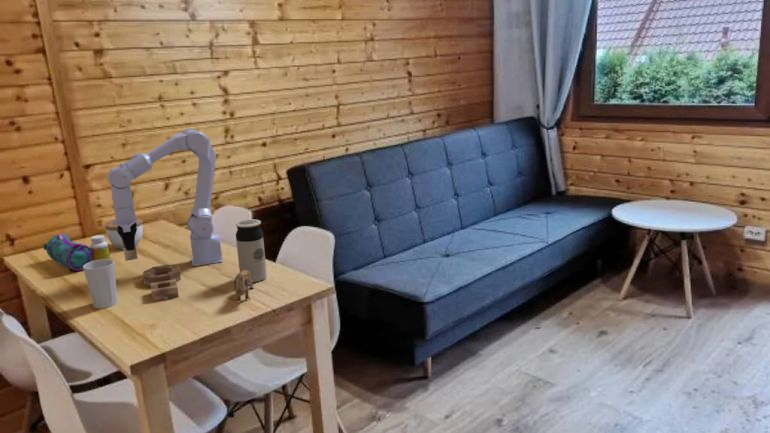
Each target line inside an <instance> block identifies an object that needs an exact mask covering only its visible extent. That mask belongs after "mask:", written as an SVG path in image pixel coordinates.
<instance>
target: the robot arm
mask: <svg viewBox="0 0 770 433" xmlns="http://www.w3.org/2000/svg"><path fill="white" fill-rule="evenodd" d="M187 150H189V151H191V152H192V153H193V154H194V155H195V157H196V158H197V159H198V168H197V175H196V185H195V195H194V202H193V204H194V205H193V207H192V209H191V211H190V215H189V217H188V219H187V221H186V226H187V228H188V230H189V231H190V235H189V238H190V240H189V241H190V245H191V246H190V248H191V256H192V257H191V258H190V260H191V263H192V267H197V266H198V267H199V266H203V265H211V264H216V263H222V262H223V256H222V255H223V253H222V246H221V239H220V235H219V234H218V233H213V232H214V228H215V227H214V225H213V221H212V219H213V215H212V211H211V203H212V194H213V187H214V186H213V185H214V180H215V179H214V177H215V168H216V161H217V156H216V155H217V154H216V153H215V150H214V148H213V146H212V143H211V140H210V138H209V137H207V135H206V134H204V133H203V132H202V131H199V130H195V129H192V128H185V129H184V130H182V132H178V133H176V134H174V135H173V136H172V137H170V138H168V139H167V140H166V141H164V142H162V143H161V144H159V145H158V146H156V147H155V148H154V149H152V150H151V151H149V152H148V153H143V152H142V153H141V152H140V153H138V154H137V153H134V154H132V158H130V159H128V160H127V161H125V162H123V163H122V162H120V163H119V164H118V166H116V167H113V168H111V169H109V171H108V173H107V177H106V179H107V182H109V184H110V191H111V194H110V195H111V200H112V206H113V211H114V217H115V220H116V221H113V220H111V221H112V224H113V225H114V224H116V225H118V229H117V232H118V234H119V235H120V236H121V238H122V240H123V242H124V245H125V248H126V250H127V251H130V250H134V246H135V234H136V231H137V228H136V226H137V223H136V222H137V219H136V218H137V217H136V211H135V205H134V199H133V192H132V188H131V183H132V181H133V180H136V179H138V178H139V177H140V176H143V175H144V174H145V173H147V172H148V171H149V172H150V171H151V169H152V168H153V164H154V163H156V162H157V161H159V160H161V159H163V158H164V157H166V156H168V155H169V154H172V153H173V152H175V151H187Z"/></svg>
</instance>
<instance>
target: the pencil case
mask: <svg viewBox="0 0 770 433" xmlns="http://www.w3.org/2000/svg"><path fill="white" fill-rule="evenodd" d="M71 240H72V239H71V238H70V237H69V236H68V235H67V234H64V233H58V234H56V235H54V236H53V237H51V238H50V239H49V240H48V242H47V243H43V250H44V251H46V254H47V255H48V256H49V258H50V259H52V260H53V261H54V262H56V263H59V264H60V265H62V266H64V267H66V268H68V269H71V270H74V271H77V272H80V271H81V272H82V271H84V269H83V265H85V264H86V263H89V262H92V261H93V251H92V249H91V248H90V246H88V245H86V244H81V243H78V242H75V241H71Z"/></svg>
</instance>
